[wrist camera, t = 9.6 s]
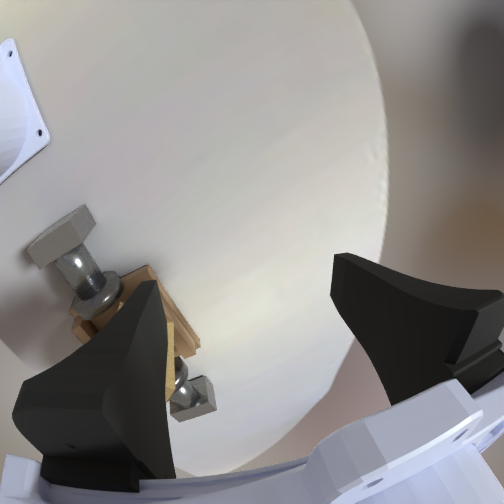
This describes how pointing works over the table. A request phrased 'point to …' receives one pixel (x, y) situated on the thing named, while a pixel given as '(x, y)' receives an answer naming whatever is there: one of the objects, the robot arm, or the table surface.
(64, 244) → the shaft stand
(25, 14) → the table surface
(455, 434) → the robot arm
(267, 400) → the table surface
